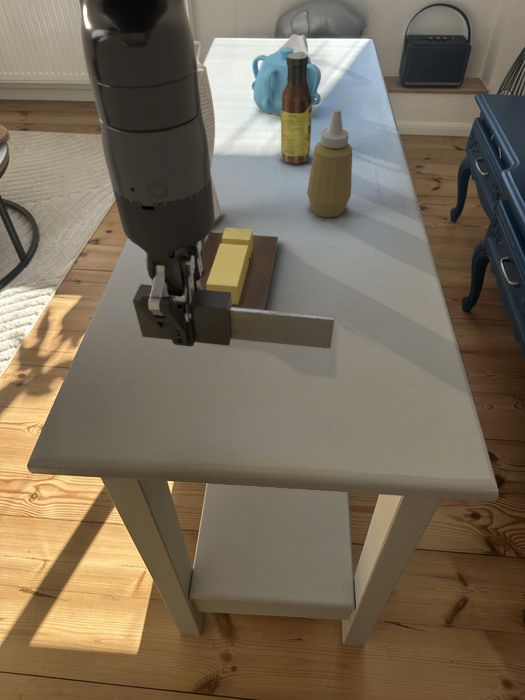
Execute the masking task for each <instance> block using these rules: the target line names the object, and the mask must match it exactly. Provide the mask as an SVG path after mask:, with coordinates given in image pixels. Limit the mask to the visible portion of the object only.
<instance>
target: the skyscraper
mask: <svg viewBox="0 0 525 700" xmlns="http://www.w3.org/2000/svg"><path fill="white" fill-rule="evenodd" d="M196 45H197V46H198V48H197V52H196V59H197V69H198V80H199V90H200V101H201V110H202V117H203V121H204V126H205V130H206V134H207V140H208V149H209V161H210V170H212V164H213V157H214V151H215V150H214V149H215V140H216V118H215V116H216V115H215V107H214V101H213V95H212V90H211V89H212V88H211V85H210V80H209V75H208V70H207V66H205V65H204V64H201V62H200V59H201V55H202V50H203V45H204V44H203V43H202V41H199V40H194V46H196ZM211 182H212V193H213V204H214V215H215V221H214V225H215V224H216V223H217V222H218V221H219V220H220V219H221V218H222V217H223V211H222V208H221V204H220V200H219V197H218V193H217V190H216V186H215V183H214V180H213V176H212V175H211Z"/></svg>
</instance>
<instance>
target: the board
mask: <svg viewBox="0 0 525 700" xmlns="http://www.w3.org/2000/svg"><path fill="white" fill-rule="evenodd" d="M223 233H224V232H213V231H210V233H209V234H208V235H207V238H206V239H205V275H204V277H203V278H200V282H201V286H202V290H207V281H208V278H209V275H210V272H211V269H212V266H213V263H214V260H215V257H216V254H217V251H218V248H219V245H220V244H222V236H223ZM278 246H279V236H274V235H273V236H271V235H256V234H253V250H252V254H251V258H249V265H248V269H247V273H246V277H245V281H244V285H243V289H242V293H241V297H240V300H239V304H238V305H237V304H232V307H238V308H249V309H260V310H266V305H267V301H268V295H269V290H270V286H271V281H272V276H273V270H274V265H275V260H276V255H277V250H278Z"/></svg>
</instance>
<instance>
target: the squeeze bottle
mask: <svg viewBox="0 0 525 700" xmlns="http://www.w3.org/2000/svg"><path fill="white" fill-rule="evenodd" d="M342 117H343V116H342V110H341V109H340V108H334V109H333V110H332V114H331V117H330V120H329V124H328V127H326V128H325V129H322V131H320V141H319V142H318V143H316V145H314V150H313V155H312V162H311V166H310V167H311V168H310V172H309V173H310V174H309V178H308V179H309V180H308V185H307V191H306V193H307V197H308V200H309V205H310V208H311V210H312V212H313V214H315V215H317V216H318V217H321V218H322V217H323V218H334V217H337V216H340V215H342V213H343V212H344V210H345V208H346V206H347V204H348V202H349V200H350V199H351V196H352V175H353V174H352V173H353V172H352V171H353V147H352V146H351V145H350V144H349V137H350V135H349V134H350V133H349V131H348V130H346V129H344V128H343V118H342Z"/></svg>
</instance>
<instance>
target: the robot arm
mask: <svg viewBox="0 0 525 700" xmlns="http://www.w3.org/2000/svg"><path fill="white" fill-rule="evenodd" d="M78 2H79V7H80V14H81V15H80V17H81V19H80V31H81V32H80V33H81V35H80V36H81V46H82V52H83V59H84V63H85V68H86V72H87V75H88V79H89V84H90V88H91V91H92V95H93V96H92V97H93V100H94V104H95V108H96V112H97V116H98V121H99V127H100V134H101V143H102V151H103V155H104V160H105V164H106V168H107V172H108V175H109V176H108V177H109V180H110V183H111V187H112V192H113V196H114V200H115V203H116V208H117V211H118V215H119V219H120V222H121V228H122V231H123V233H124V235H125V236H126V238H127V239H128V240H129V241H130V242H132V243H133V244H135V245H136V246H138V247H139V248H140V249H141V250H143V251H144V252H145V253H146V254H145V264H146V265H145V266H146V270H147V271H146V272H147V274H148V276H149V278H150V279H151V285H152V289H151V294H150V295H141V297H140V300H139V307H140V309H141V311H142V312H143V313H144V314H145V315H146V316H147V317H148V319H149V320H150V321H151V322H152V323H153V324H154V325H155V326H156V328H158V329H170V333H171V337H172V340H171V342H172V343H173V344H174V345H175V346H183V347H193V346H194V345H195V343H196V342H195V333H194V327H193V321H192V312H191V301H192V299H193V297H194V295H195V289H199V290H202V286H201V282H200V278H203V277H204V275H205V243H206V237H208V235H209V233H210V232H212V229H213V228H214V226H215V224H214V221H215V215H214V204H213V193H212V182H211V176H212V173H211V169H210V161H209V149H208V140H207V134H206V130H205V126H204V121H203V117H202V110H201V101H200V90H199V80H198V69H197V59H196V58H197V52H196V45H195V44H194V41H195V40H194V36H193V31H192V27H191V23H190V20H189V16H188V12H187V8H186V4H185V0H78ZM176 303H180V304H181V305H182V308H178V306H177V305H176Z"/></svg>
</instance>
